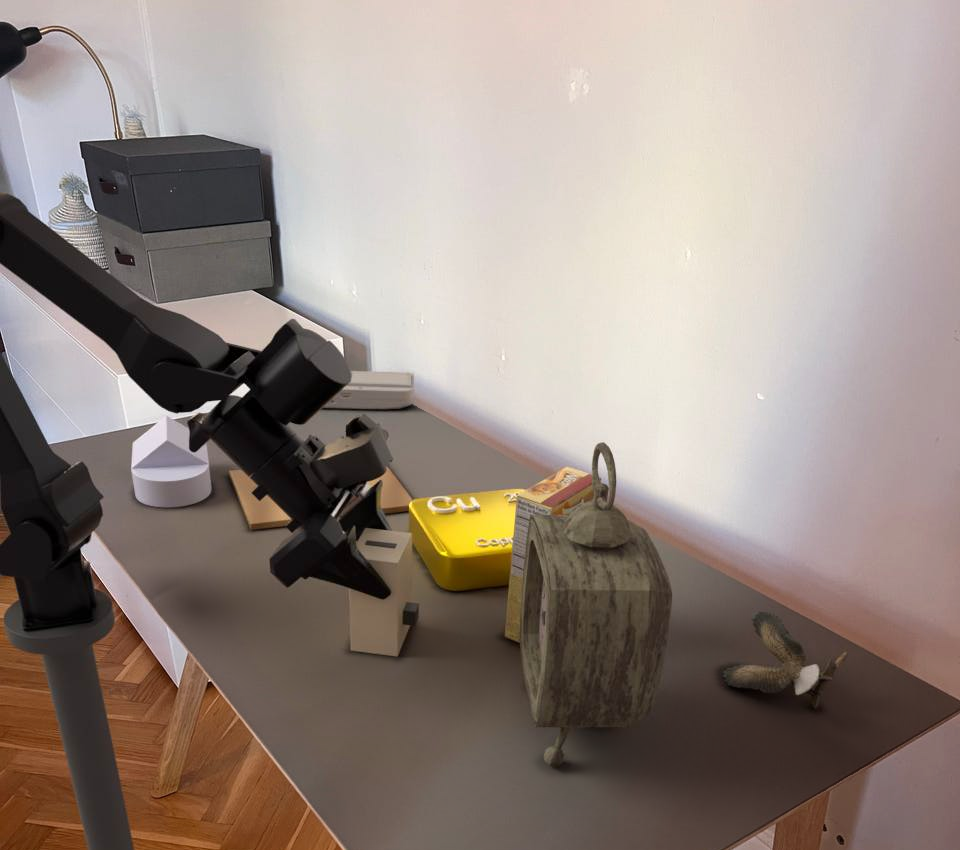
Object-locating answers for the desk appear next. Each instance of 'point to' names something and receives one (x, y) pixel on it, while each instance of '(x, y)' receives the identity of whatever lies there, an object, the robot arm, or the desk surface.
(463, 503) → the element tile
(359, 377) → the handheld gaming device
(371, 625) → the toaster
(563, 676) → the tabletop clock
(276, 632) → the desk surface
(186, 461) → the wedge on round base
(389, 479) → the cork mat
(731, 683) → the eagle figurine
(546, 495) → the candy box
